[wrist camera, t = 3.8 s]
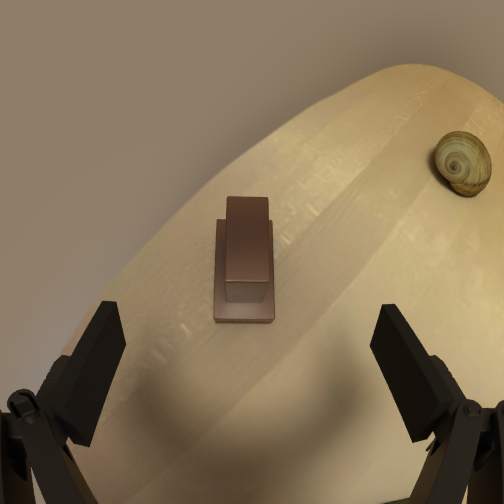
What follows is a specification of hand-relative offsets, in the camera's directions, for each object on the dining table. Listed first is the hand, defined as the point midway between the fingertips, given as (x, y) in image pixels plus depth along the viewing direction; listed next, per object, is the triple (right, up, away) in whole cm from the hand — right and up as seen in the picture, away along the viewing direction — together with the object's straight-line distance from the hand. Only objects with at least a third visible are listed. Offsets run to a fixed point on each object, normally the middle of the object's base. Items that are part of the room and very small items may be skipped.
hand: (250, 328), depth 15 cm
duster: (-1, +2, +12) cm, 12 cm away
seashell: (+25, +14, +18) cm, 34 cm away
